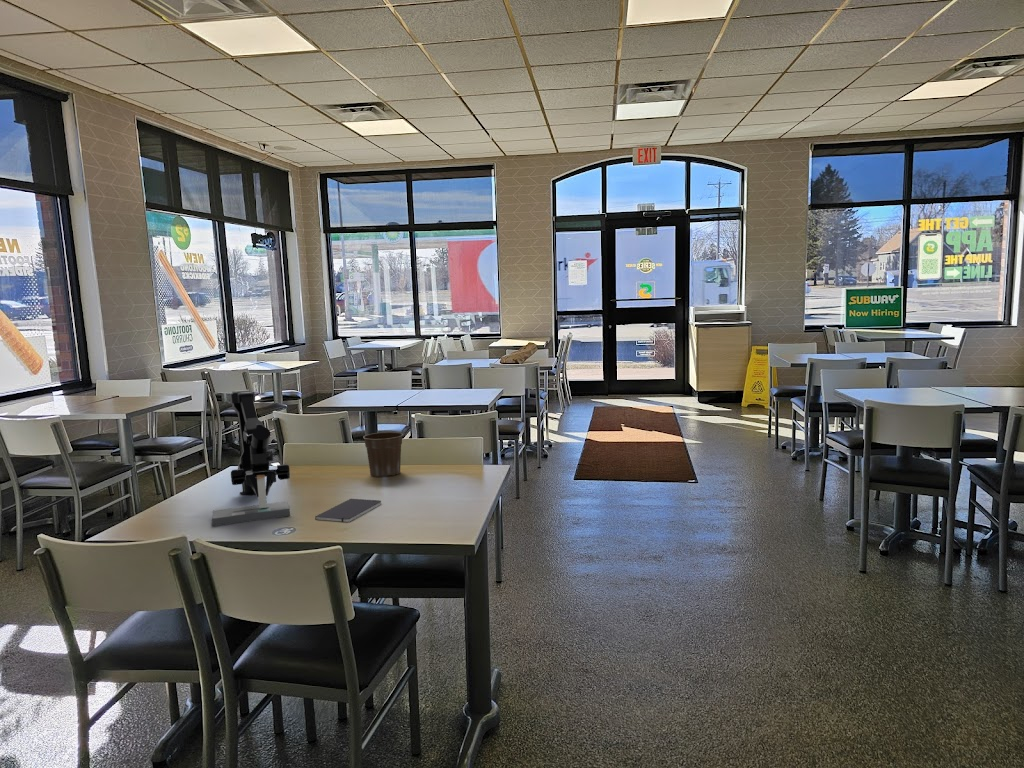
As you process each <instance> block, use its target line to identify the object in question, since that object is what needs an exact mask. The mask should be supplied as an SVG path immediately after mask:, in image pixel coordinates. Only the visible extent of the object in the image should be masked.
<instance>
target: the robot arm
mask: <svg viewBox="0 0 1024 768" xmlns="http://www.w3.org/2000/svg"><path fill="white" fill-rule="evenodd" d="M228 396H229V402H230V404H231V406H232V409H233V410H234V412H236V414H237V418H238V426H239V433H240V441H241V449H242V453H241V455H240V457H239V463H238V464H237V469H231V471H230V479H231V484H232V486H237V485H241V490H242V491H240V492H239V495H251V496H252V495H255V496H256V497H257V498H259V497H258V484H257V475H265V488H266V497H268V495H269V492H270V490H271V487H272V486H273V484H274V483H276V482H277V479H279V480H280V481H281V480H289V479H291V477H290V475H291V474H290V471H291V469H290V465H289V464H287V463H284V464H277V465H276V468H277V469H270V462H273V461H274V455H273V450H271V451H270V450H269V449H268V447H269V443H270V438H271V437H270V436H271V430H269V429H268V428H267V427H265V425H264V423H263V421H261V420H259V416H258V415H257V411H256V407H255V406H256V405H255V403H254V402H256V397H255V391H251V390H250V389H241V390H240V389H239V390H232V392H231V393H229V395H228ZM268 450H269V451H268Z"/></svg>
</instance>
